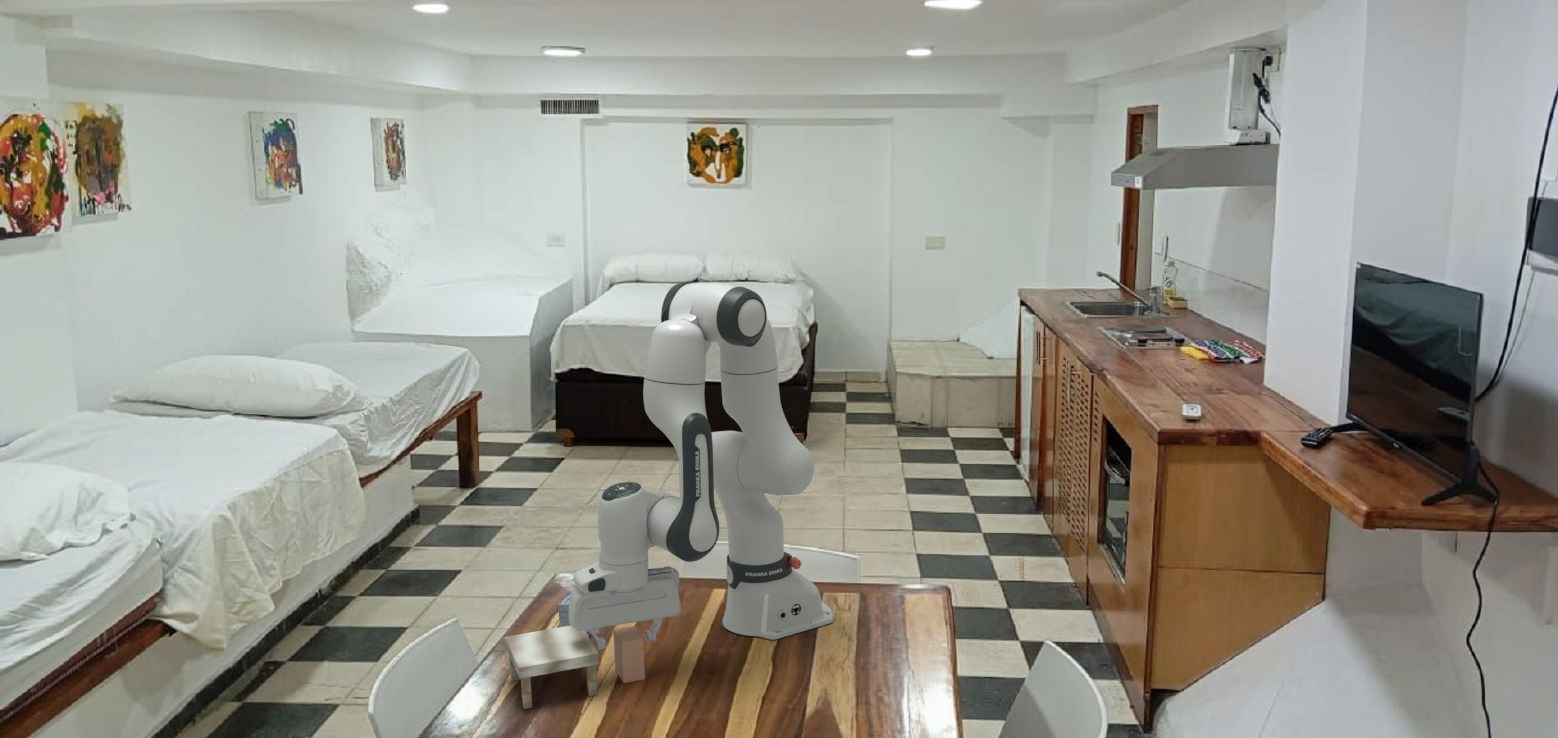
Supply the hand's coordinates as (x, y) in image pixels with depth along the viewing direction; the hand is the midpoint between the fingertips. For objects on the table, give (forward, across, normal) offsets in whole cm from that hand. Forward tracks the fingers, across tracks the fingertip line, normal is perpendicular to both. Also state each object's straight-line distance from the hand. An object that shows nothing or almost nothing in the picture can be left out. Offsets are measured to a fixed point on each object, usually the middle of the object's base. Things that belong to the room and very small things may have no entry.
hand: (626, 644), depth 222 cm
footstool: (+6, +13, -2) cm, 15 cm away
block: (+6, -1, 0) cm, 6 cm away
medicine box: (+6, +4, -20) cm, 22 cm away
